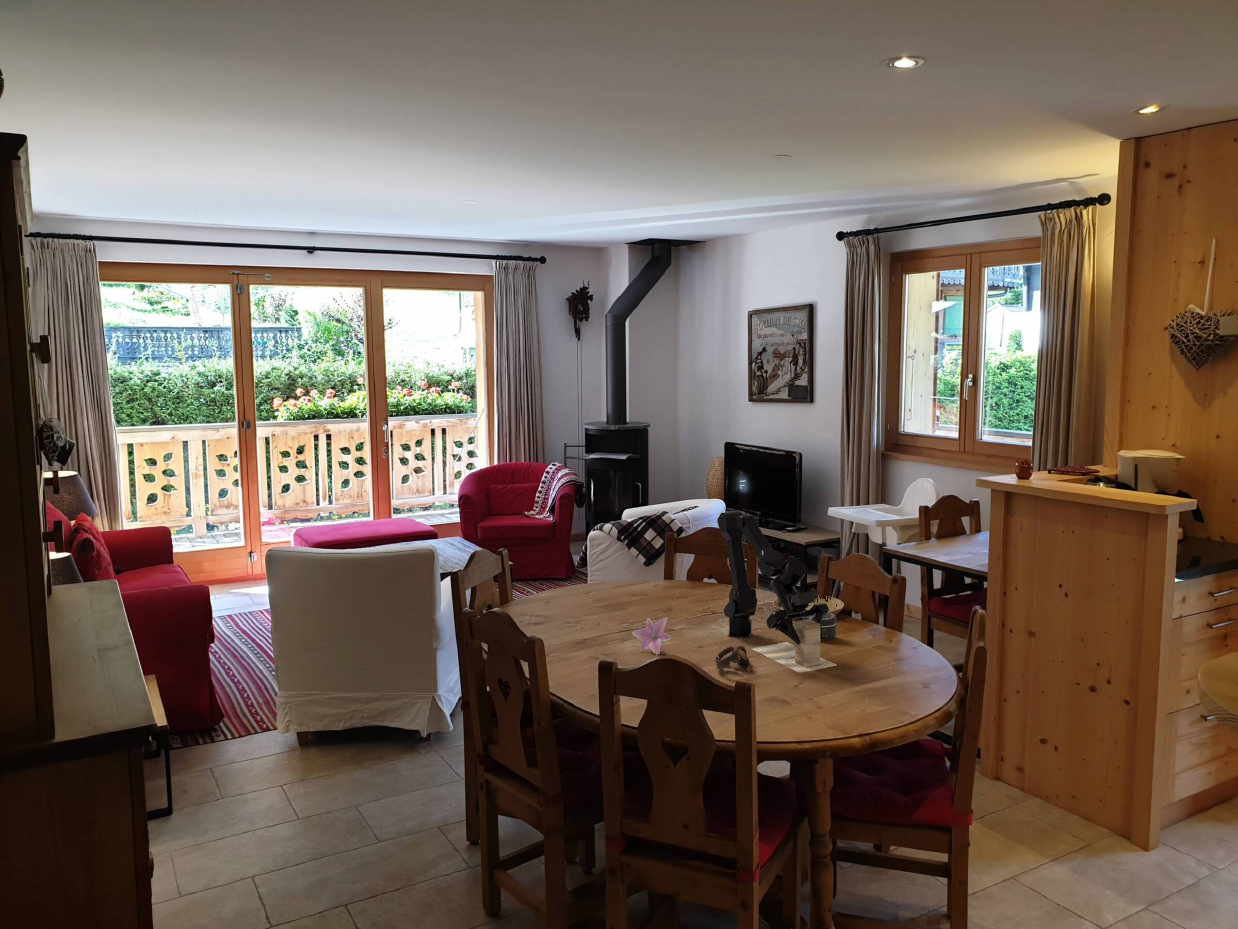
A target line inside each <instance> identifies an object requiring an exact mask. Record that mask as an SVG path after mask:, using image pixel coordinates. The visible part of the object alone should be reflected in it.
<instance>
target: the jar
mask: <svg viewBox="0 0 1238 929" xmlns="http://www.w3.org/2000/svg"><path fill="white" fill-rule="evenodd" d="M807 619H808V617H804V619H803V620H807ZM821 626H822V635H823V639H822V640H820V642H821V641H830V640H832V641H835V639H836V637H837V615H834V614H832V613H829V612H827V614H826V615H825V616H824V617H823V618H822V619H821Z"/></svg>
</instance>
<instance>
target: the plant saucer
mask: <svg viewBox="0 0 1238 929" xmlns="http://www.w3.org/2000/svg"><path fill="white" fill-rule="evenodd" d="M819 595H820V594H818V602H817V599H815V602H814V603H813V602H812V603H809V605H811V606H808V608H806V610H810V608H811V607H812V606H813V605H814V604H819V603H825V604H827V606H828V608H829V611H828V612H829V613H832V614H834V615H835V616H837V615H838V614H839V613H841V611H842V610H844V609H843V608H844V606H845V603H844V602H843V601H842V600H841V599H839V598H835V597H832V596H828V597H829V598H828V602H826V601H825V599H822V598H821V599H820V598H819ZM825 596H826V595H825ZM830 597H831V600H830ZM826 600H827V596H826ZM779 602H780V601H779V599H778V598H775V599H774V600H773V602H772V605H773V608H774V609H775V611H778V610H784V609H783V607H782V606H781V607H779V605H778V603H779ZM836 604H837V607H836ZM802 620H804V618H803V619H802Z"/></svg>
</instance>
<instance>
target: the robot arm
mask: <svg viewBox="0 0 1238 929" xmlns="http://www.w3.org/2000/svg"><path fill="white" fill-rule="evenodd" d="M716 520H717V526H718V529H719V533H720V534H721V536H722V537H723V538H724V540H725V542H726V549H727V556H728V561H729V569H730V576H731V577H730V578H731V583H732V584H731V585H732V586H731V589H730V590H729V594H728V603H726V605H725V607H724V608H723V613H724V616H725V617H727V618H728V619H729V620H728V622H729V625H728V626H729V627H728V628H729V632H728V635H727V636H728V637H731V638H732V637H733V638H735V637H736V638H749V637H750V636H751V634H752V632H753V626H752V624H753V623H752V622H753V620H752V619H751V616H755V615H756V610H757V606H758V598H757V591H756V589H755V588H752V587H751V585H750V584H749V579H748V573H747V567H746V566H747V565H746V560H745V559H746V558H745V554H744V553H745V552H744V547H743V536H745V538H746V540H747V542H748V543H749V545H750V547H751V549H752V550H753V552H754V553H755V555H756V557H757V567H758V569H759V572H760V575H762V577H764V578H767V579H768V578H773V580H770V581H769V585H768V590H769V591H773V590H774V593H775V595H776V598H777V599H779V601H780V602H779V603H778V605H779V607H781V606H782V607H783V609H784V610H778V611H777V610H773V611H772V612H771V614H770V615H769V616H768V617H767V619H766V625H767V627H768V629H769V630H771V629H775V631H779V632H781V633H782V634H783V635H786V636H787V638H790V640H792V641H793V642H794V643H795V642H796V643H797V644H798V645H799V644H800V643H801V642H800V639H799V636H798V634H797V632H796V630H795V625H794V623H793V620H800V619H799V618H804V617H808V619H810V620H812V621H815V622H817V623H820V641H821V640H822V639H823V635H822V626H821V619H822V618H823V617H824V616H825V615H826V614H827V612H828V611H829V608H828V606H827V604H825V603H819V604H814V605H813V606H812V607H811V609H810V610H806V608H808V606H809V603H812V602H813V603H814V602H815V599H818V595H819V594H818V592H817V590H816V589H815V587H812V588H809V589H807V590H806V591H804V592H801V591H797V589H796V587H795V586H797V585H799V583H800V581H802V580H803V578H804V577H805V576H806V575H807V572H808V567H807V565H806V564H805V563H804V562H803V561H801V560H799V559H797V558H796V556H788V558H787V559H785V558H784V557H783V555H782V554H781V553H780V552H779V551H777V550H775V549H774V548H773V547H772V546H771V545H770V543H769V541H768V539H767V538H766V536H765V535H764V533H763V532H762V530H761V528H760V526H759V525H758V524H757V521H756V517H755V516H754V515H753V514H752V515H751V514H749V513H746V514H745V513H742V512H741V511H740V510H736V511H735V510H734V511H725V512H720V513H719V515H718V517H717V519H716Z"/></svg>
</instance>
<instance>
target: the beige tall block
mask: <svg viewBox="0 0 1238 929" xmlns="http://www.w3.org/2000/svg"><path fill="white" fill-rule="evenodd" d="M794 628H795V630H796V632H797V634H798V636H799V639H800V642H801V643H800V644H799V645H798V644H797V643H796V642H794V643H795V644H794V646H795V663H797V664H800V665H802V666H804V667H806V668H808V667H813V666H818V665H820V657H821V640H820V623H817V622H815V621H812V620H810V619H807V620H804V619H801V620H797V621H796V620H795V623H794Z"/></svg>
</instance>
